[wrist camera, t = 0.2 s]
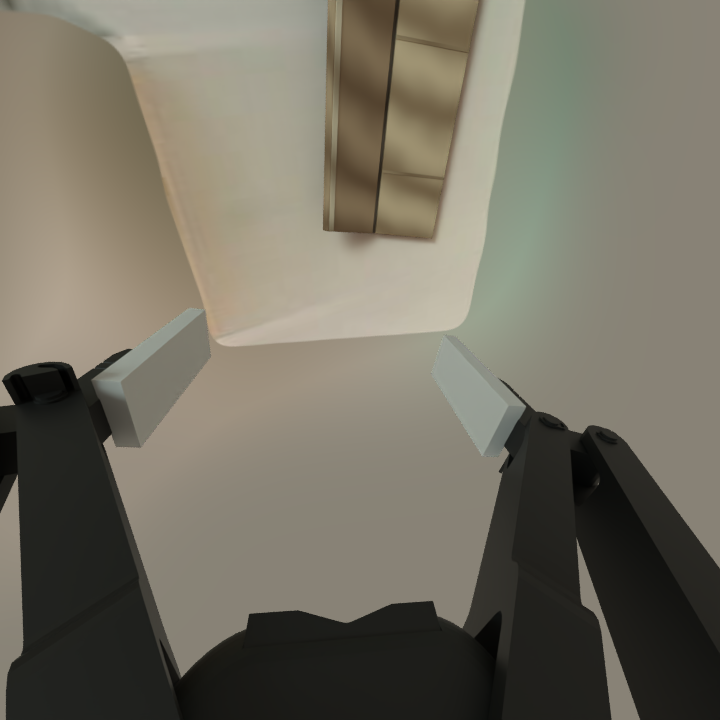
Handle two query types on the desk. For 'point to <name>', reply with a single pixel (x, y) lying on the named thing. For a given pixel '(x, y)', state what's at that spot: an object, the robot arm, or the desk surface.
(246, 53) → the desk surface
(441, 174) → the laid plank
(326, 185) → the click plank
